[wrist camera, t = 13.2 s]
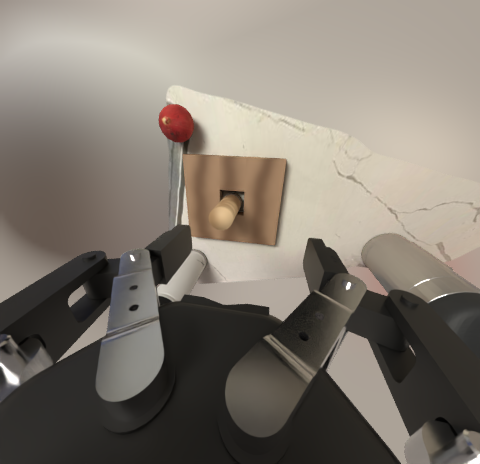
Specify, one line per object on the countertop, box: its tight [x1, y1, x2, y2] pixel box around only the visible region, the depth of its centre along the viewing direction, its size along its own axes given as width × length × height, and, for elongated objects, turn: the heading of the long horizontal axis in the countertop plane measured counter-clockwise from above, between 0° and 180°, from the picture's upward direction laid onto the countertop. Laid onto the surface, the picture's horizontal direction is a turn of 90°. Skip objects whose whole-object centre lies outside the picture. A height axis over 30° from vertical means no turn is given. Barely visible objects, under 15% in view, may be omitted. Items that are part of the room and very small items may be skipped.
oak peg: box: [209, 193, 242, 230], centre depth 35 cm, size 4×4×12 cm
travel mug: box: [157, 249, 207, 306], centre depth 40 cm, size 6×7×20 cm
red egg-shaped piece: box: [159, 104, 194, 142], centre depth 32 cm, size 6×6×8 cm
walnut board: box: [183, 154, 286, 245], centre depth 39 cm, size 20×18×2 cm
